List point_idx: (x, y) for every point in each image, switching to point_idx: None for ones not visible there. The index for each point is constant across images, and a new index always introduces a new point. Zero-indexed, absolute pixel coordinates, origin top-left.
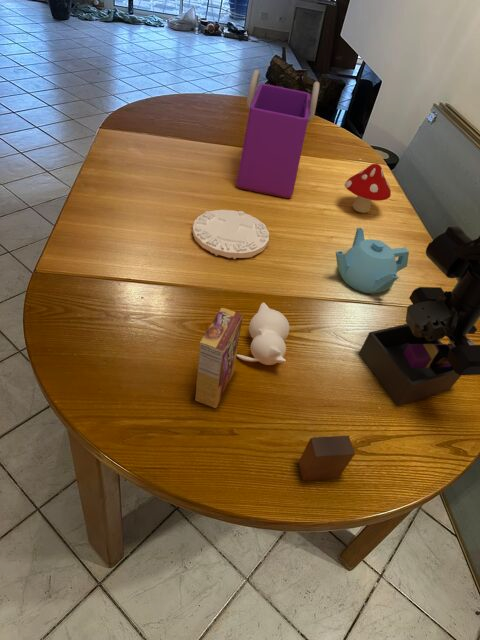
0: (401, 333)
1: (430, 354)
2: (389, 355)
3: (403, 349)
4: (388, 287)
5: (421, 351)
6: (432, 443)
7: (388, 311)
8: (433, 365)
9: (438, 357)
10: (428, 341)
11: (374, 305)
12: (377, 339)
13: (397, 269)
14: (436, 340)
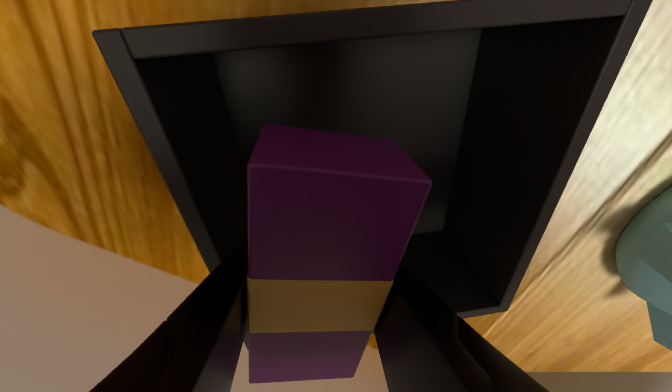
0: (494, 218)
1: (291, 288)
2: (411, 17)
3: (428, 203)
4: (633, 268)
5: (331, 243)
6: (8, 90)
7: (557, 230)
8: (221, 262)
9: (159, 357)
10: (394, 321)
11: (600, 203)
12: (573, 10)
13: (660, 315)
14: (382, 362)
